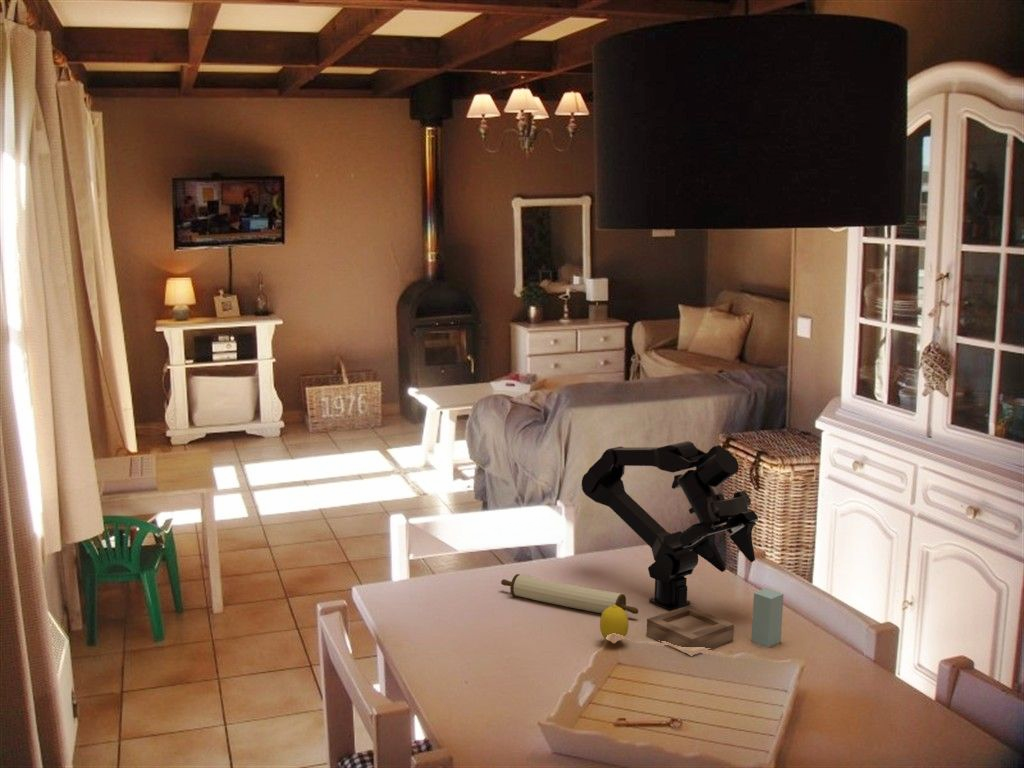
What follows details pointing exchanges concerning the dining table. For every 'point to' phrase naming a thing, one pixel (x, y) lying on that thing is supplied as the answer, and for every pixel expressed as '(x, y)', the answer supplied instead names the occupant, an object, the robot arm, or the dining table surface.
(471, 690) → the dining table surface
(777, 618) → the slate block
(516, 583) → the rolling pin
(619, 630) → the lemon
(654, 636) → the walnut base
